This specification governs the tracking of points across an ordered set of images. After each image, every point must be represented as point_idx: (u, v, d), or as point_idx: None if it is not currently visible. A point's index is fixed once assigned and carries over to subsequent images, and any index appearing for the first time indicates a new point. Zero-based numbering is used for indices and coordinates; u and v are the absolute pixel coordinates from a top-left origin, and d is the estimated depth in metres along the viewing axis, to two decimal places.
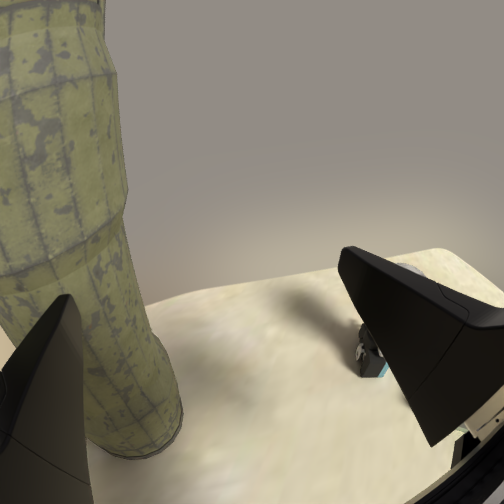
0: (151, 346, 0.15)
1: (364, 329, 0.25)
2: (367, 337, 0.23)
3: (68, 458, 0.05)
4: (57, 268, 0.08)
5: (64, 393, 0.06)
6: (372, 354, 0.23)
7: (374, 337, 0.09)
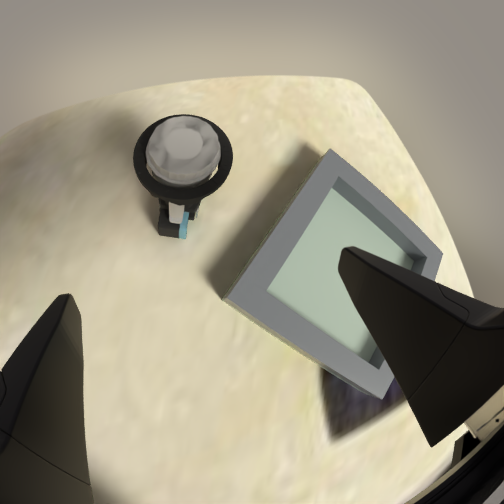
0: None
1: None
2: None
3: (68, 458, 0.05)
4: None
5: (64, 393, 0.06)
6: (163, 216, 0.20)
7: (374, 337, 0.09)
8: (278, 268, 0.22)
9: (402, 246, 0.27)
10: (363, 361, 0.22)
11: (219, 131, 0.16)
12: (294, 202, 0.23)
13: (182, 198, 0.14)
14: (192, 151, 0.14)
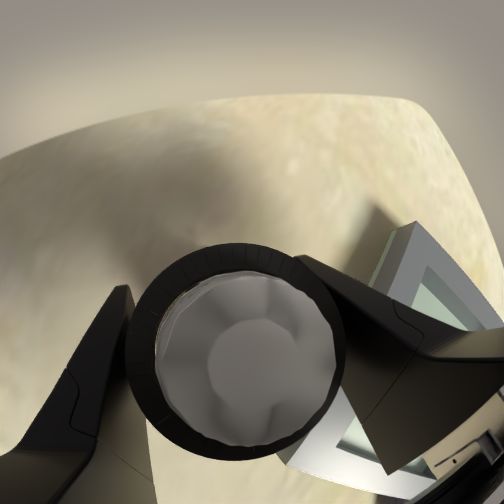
0: None
1: None
2: None
3: (138, 456, 0.05)
4: None
5: None
6: None
7: None
8: (352, 416, 0.13)
9: None
10: (426, 479, 0.14)
11: (317, 287, 0.07)
12: None
13: (252, 456, 0.06)
14: (278, 386, 0.06)
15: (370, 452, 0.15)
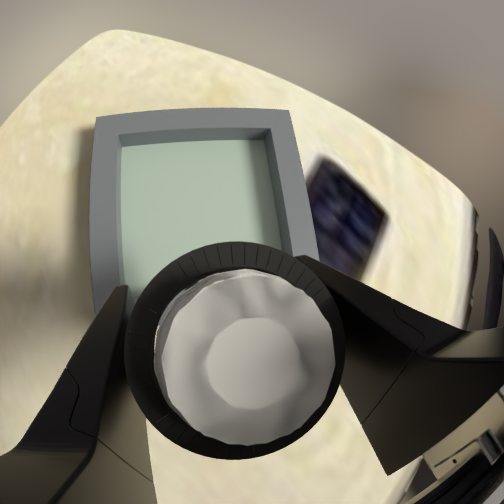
0: None
1: None
2: None
3: (138, 456, 0.05)
4: None
5: None
6: None
7: None
8: (116, 268, 0.18)
9: (238, 137, 0.24)
10: None
11: (316, 285, 0.07)
12: (91, 197, 0.18)
13: (252, 455, 0.06)
14: (277, 384, 0.06)
15: None
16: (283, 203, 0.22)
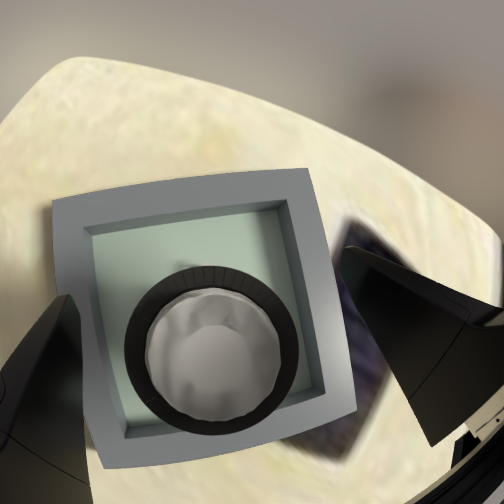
0: None
1: None
2: None
3: (67, 458, 0.05)
4: None
5: (63, 393, 0.06)
6: None
7: (374, 337, 0.09)
8: (111, 409, 0.13)
9: (243, 211, 0.19)
10: (296, 406, 0.16)
11: (273, 299, 0.09)
12: None
13: (221, 433, 0.08)
14: (233, 376, 0.07)
15: None
16: (308, 306, 0.17)
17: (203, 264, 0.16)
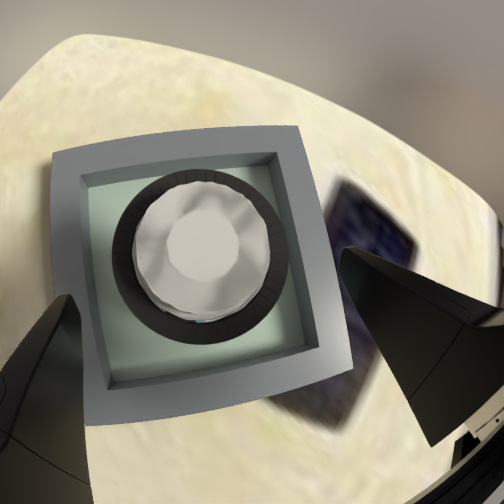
0: None
1: None
2: None
3: (68, 458, 0.05)
4: None
5: (64, 393, 0.06)
6: None
7: (374, 337, 0.09)
8: (95, 356, 0.13)
9: (235, 165, 0.19)
10: (288, 358, 0.16)
11: (262, 202, 0.09)
12: (53, 264, 0.14)
13: (206, 342, 0.08)
14: (221, 262, 0.08)
15: (188, 367, 0.16)
16: (299, 253, 0.17)
17: None
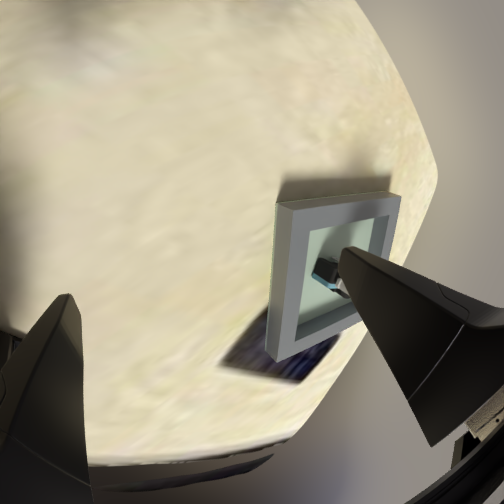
0: None
1: None
2: None
3: (68, 458, 0.05)
4: None
5: (64, 393, 0.06)
6: None
7: (374, 337, 0.09)
8: (326, 225, 0.25)
9: None
10: (295, 327, 0.29)
11: None
12: (365, 201, 0.27)
13: None
14: None
15: None
16: (331, 323, 0.32)
17: None
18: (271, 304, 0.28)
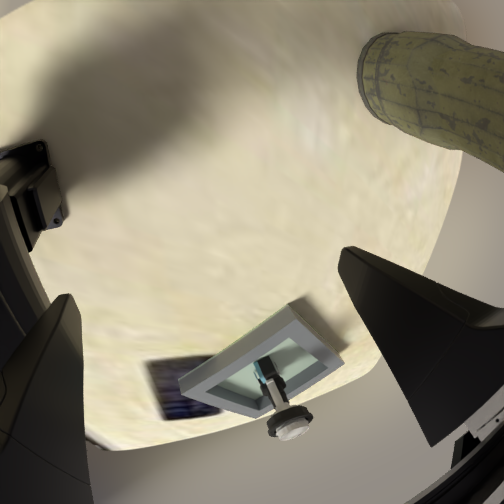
0: (469, 153, 0.15)
1: None
2: (284, 383, 0.33)
3: (68, 458, 0.05)
4: None
5: (64, 393, 0.06)
6: (275, 375, 0.33)
7: (374, 337, 0.09)
8: (298, 342, 0.32)
9: None
10: (216, 384, 0.32)
11: None
12: (327, 348, 0.35)
13: (283, 422, 0.28)
14: (289, 434, 0.28)
15: None
16: (232, 400, 0.36)
17: None
18: (218, 356, 0.32)
